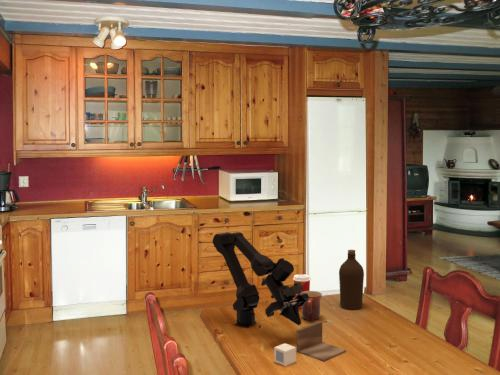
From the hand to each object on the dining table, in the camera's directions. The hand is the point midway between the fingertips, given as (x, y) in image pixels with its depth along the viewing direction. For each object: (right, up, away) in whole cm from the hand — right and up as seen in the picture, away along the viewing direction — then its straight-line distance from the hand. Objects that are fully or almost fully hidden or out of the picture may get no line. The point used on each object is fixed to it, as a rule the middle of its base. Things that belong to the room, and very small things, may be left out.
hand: (299, 324), depth 194 cm
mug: (+7, -5, +27) cm, 28 cm away
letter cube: (-6, -9, -14) cm, 18 cm away
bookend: (+7, -8, -7) cm, 12 cm away
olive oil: (+26, -3, +42) cm, 50 cm away
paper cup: (+5, -3, +42) cm, 42 cm away
